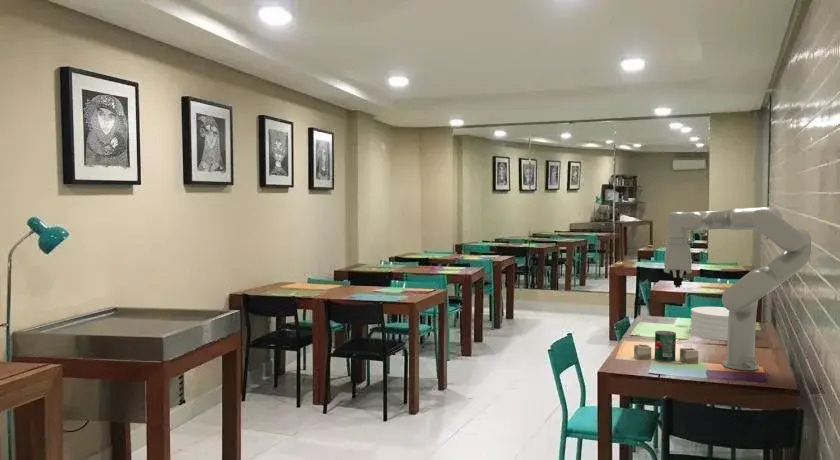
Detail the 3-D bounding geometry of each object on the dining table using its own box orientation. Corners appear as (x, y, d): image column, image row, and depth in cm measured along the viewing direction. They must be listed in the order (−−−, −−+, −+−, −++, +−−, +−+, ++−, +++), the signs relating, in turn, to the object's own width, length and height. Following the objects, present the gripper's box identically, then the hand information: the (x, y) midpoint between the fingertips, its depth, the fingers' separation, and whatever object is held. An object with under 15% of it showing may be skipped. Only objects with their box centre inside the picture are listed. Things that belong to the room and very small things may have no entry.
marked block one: (698, 363, 257) (698, 350, 257) (686, 363, 256) (686, 350, 256) (691, 360, 262) (692, 347, 262) (679, 360, 261) (680, 347, 261)
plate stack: (735, 344, 293) (736, 318, 293) (678, 333, 316) (679, 309, 315) (766, 336, 310) (767, 312, 309) (710, 327, 332) (710, 304, 332)
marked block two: (651, 359, 262) (651, 347, 262) (639, 360, 262) (639, 347, 262) (645, 356, 267) (645, 344, 267) (633, 357, 267) (634, 344, 267)
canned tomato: (650, 358, 265) (650, 331, 264) (665, 356, 267) (666, 330, 267) (663, 362, 257) (664, 335, 257) (679, 361, 260) (680, 333, 259)
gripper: (696, 242, 268) (696, 286, 268) (657, 241, 272) (657, 285, 272) (699, 243, 260) (698, 288, 261) (659, 242, 264) (658, 287, 265)
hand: (677, 287), depth 267 cm, fingers closed
